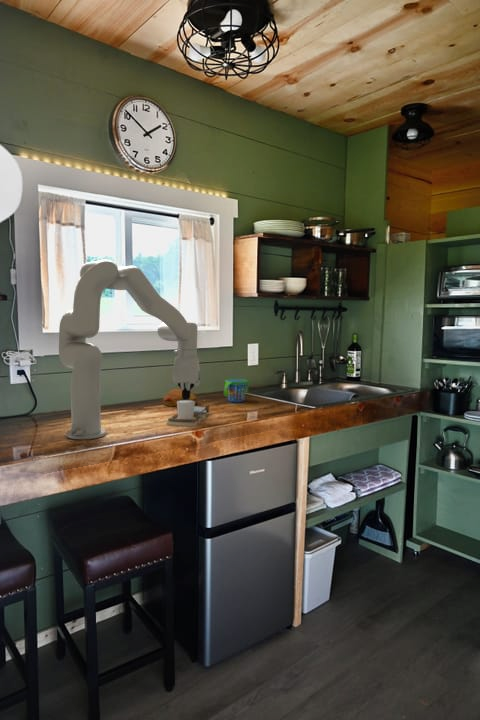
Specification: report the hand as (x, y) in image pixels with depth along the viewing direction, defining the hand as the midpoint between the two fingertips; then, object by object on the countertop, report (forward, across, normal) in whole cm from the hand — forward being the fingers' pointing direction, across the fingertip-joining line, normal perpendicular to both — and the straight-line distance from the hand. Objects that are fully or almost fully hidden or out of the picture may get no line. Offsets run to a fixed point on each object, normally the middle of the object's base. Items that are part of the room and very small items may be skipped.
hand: (185, 399), depth 197 cm
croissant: (+7, -11, +27) cm, 30 cm away
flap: (+5, +2, +3) cm, 6 cm away
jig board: (+7, +2, -2) cm, 8 cm away
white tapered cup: (+6, +2, -8) cm, 10 cm away
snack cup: (+6, +13, +40) cm, 43 cm away
